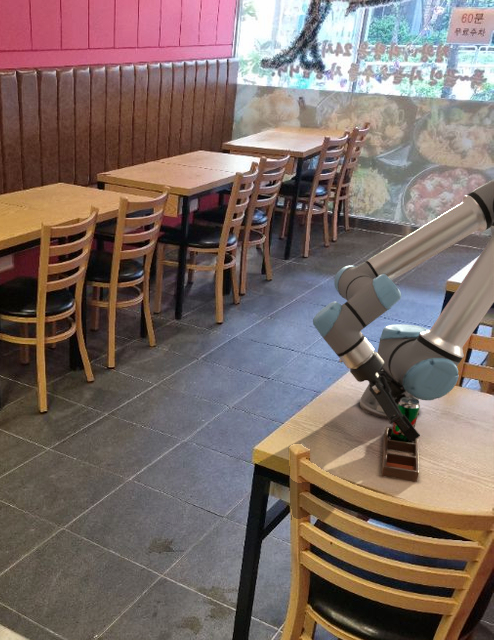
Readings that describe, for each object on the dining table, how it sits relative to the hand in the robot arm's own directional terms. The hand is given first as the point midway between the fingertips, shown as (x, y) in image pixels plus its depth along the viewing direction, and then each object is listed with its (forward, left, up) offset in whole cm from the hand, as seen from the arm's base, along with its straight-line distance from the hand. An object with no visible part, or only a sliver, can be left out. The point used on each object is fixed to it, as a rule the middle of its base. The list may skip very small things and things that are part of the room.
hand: (414, 427), depth 181 cm
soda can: (0, -3, -5) cm, 6 cm away
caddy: (+7, -3, -5) cm, 9 cm away
